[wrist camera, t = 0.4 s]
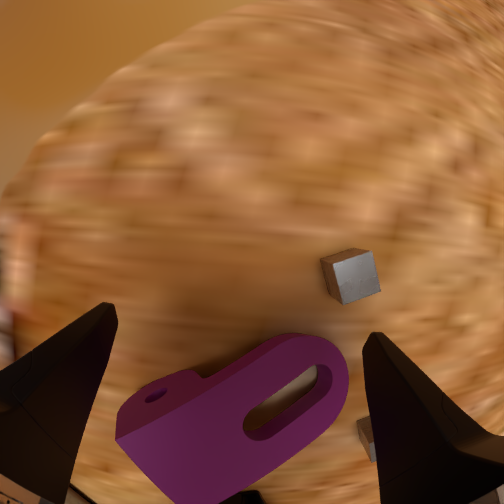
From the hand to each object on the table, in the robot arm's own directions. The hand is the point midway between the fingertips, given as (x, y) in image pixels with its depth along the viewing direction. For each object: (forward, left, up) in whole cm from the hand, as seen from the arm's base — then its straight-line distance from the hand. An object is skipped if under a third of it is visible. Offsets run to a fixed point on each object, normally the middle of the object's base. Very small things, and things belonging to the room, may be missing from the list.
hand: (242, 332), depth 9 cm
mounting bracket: (-11, +4, -15) cm, 18 cm away
